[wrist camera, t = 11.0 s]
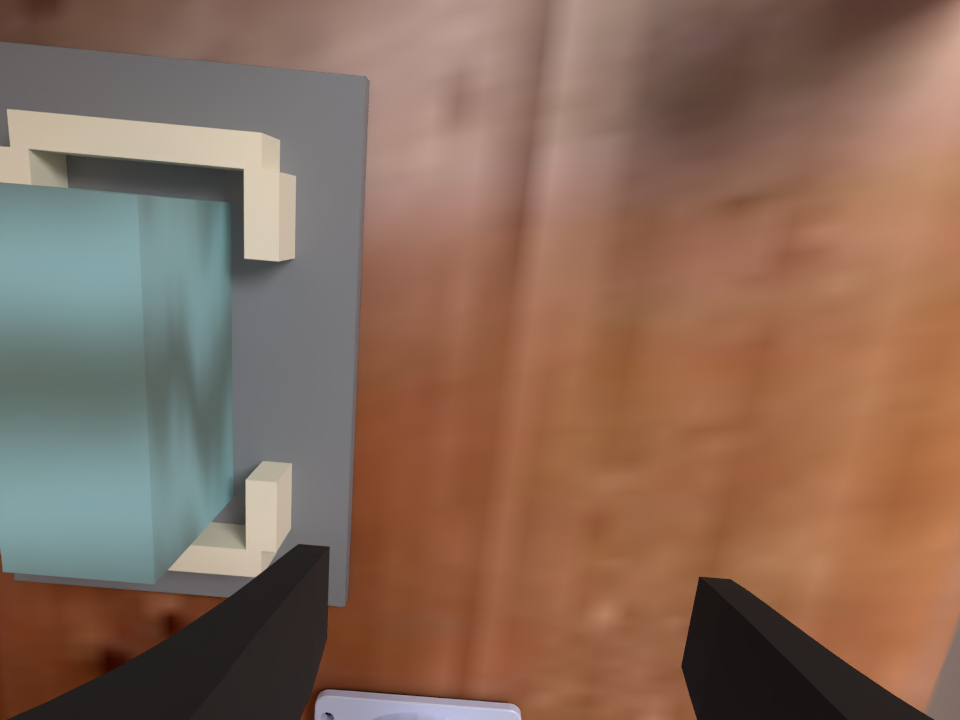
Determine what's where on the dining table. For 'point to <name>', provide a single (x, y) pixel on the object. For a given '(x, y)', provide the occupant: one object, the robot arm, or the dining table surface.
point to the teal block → (112, 379)
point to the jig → (232, 264)
